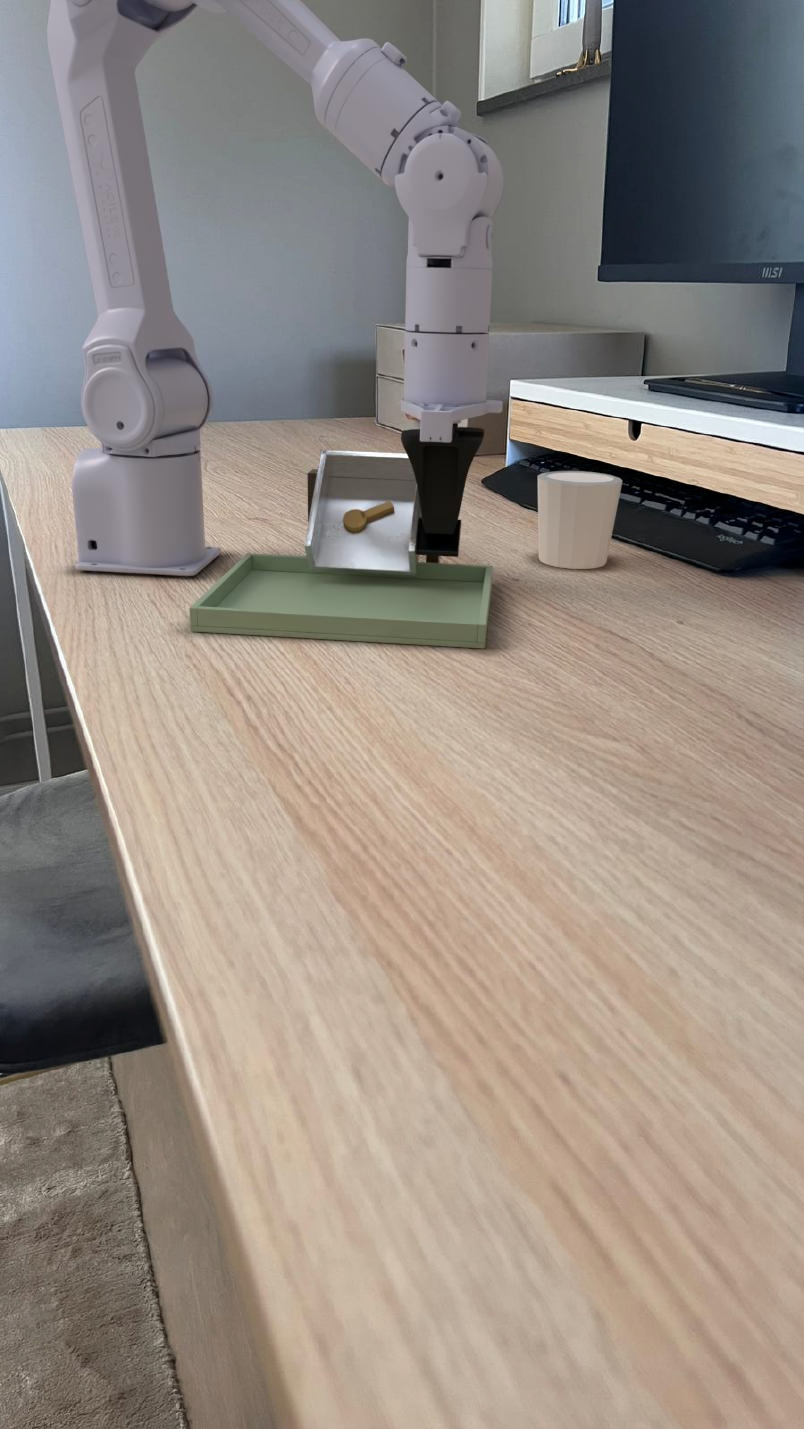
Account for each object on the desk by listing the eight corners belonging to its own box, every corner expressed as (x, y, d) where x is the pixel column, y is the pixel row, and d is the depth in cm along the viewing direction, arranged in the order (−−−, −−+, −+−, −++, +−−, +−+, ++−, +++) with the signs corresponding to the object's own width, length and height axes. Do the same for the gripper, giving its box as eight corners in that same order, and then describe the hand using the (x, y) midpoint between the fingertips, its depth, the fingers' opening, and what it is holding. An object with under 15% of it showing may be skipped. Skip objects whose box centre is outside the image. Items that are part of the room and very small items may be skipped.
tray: (190, 631, 67) (189, 607, 66) (247, 573, 80) (246, 553, 80) (484, 648, 65) (486, 624, 64) (491, 586, 79) (492, 565, 78)
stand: (308, 568, 82) (307, 473, 79) (312, 562, 84) (312, 468, 81) (437, 575, 81) (441, 479, 79) (439, 568, 83) (443, 474, 80)
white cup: (613, 573, 83) (622, 486, 80) (527, 567, 84) (534, 480, 82) (614, 554, 89) (622, 472, 87) (534, 548, 91) (540, 467, 88)
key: (349, 534, 77) (348, 531, 77) (339, 517, 78) (339, 514, 78) (397, 515, 78) (397, 512, 78) (387, 498, 79) (387, 495, 78)
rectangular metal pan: (309, 570, 77) (304, 546, 74) (326, 471, 81) (321, 445, 78) (457, 578, 76) (457, 553, 73) (466, 478, 80) (466, 451, 77)
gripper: (504, 338, 63) (492, 557, 68) (508, 330, 76) (497, 514, 81) (389, 335, 63) (386, 552, 69) (412, 327, 77) (408, 510, 82)
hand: (440, 531), depth 75 cm, fingers closed
